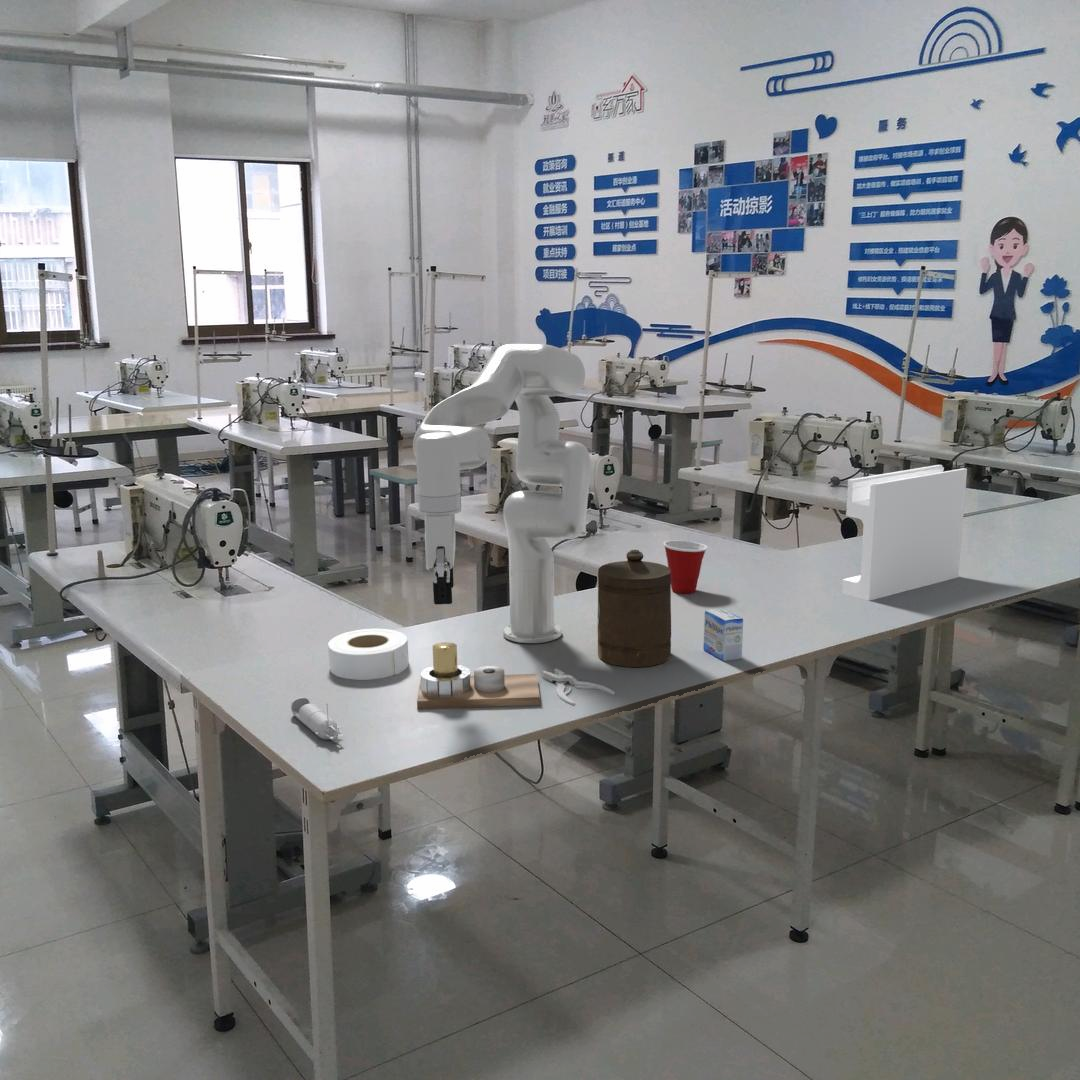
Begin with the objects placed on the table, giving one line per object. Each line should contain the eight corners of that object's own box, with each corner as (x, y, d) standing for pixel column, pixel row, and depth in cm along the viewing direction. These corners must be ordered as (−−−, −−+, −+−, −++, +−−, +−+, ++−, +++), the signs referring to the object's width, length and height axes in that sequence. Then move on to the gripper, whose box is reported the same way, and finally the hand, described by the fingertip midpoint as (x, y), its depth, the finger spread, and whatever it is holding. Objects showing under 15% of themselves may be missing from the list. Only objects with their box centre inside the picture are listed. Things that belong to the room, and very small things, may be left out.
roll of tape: (376, 686, 203) (374, 658, 201) (313, 672, 210) (311, 645, 209) (425, 661, 216) (423, 635, 215) (363, 649, 224) (362, 624, 222)
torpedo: (284, 716, 189) (282, 682, 187) (309, 710, 191) (307, 676, 190) (325, 751, 174) (323, 714, 173) (352, 744, 177) (350, 707, 175)
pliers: (571, 698, 191) (527, 674, 204) (571, 707, 192) (527, 682, 204) (615, 687, 196) (570, 664, 209) (615, 695, 197) (570, 672, 209)
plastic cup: (713, 595, 259) (715, 547, 256) (671, 598, 256) (672, 550, 254) (696, 583, 269) (697, 537, 266) (656, 586, 267) (657, 540, 264)
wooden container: (631, 639, 227) (632, 538, 222) (685, 655, 217) (687, 550, 212) (582, 655, 217) (582, 551, 212) (636, 673, 207) (637, 564, 202)
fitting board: (421, 684, 202) (420, 661, 201) (536, 681, 203) (536, 658, 202) (417, 708, 191) (416, 684, 190) (540, 705, 192) (539, 680, 191)
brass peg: (434, 683, 199) (432, 642, 197) (458, 682, 199) (456, 641, 197) (434, 692, 194) (432, 650, 193) (458, 691, 195) (456, 649, 193)
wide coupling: (422, 680, 201) (422, 664, 200) (470, 678, 201) (470, 663, 200) (420, 697, 192) (419, 682, 191) (470, 696, 192) (469, 680, 192)
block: (868, 600, 252) (875, 484, 246) (841, 593, 259) (847, 479, 253) (958, 577, 272) (967, 468, 265) (931, 570, 278) (939, 464, 272)
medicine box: (702, 650, 220) (703, 610, 218) (721, 647, 221) (722, 607, 219) (723, 662, 213) (724, 620, 211) (742, 658, 214) (744, 617, 212)
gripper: (421, 493, 197) (425, 582, 201) (415, 514, 180) (420, 611, 184) (461, 492, 197) (465, 581, 201) (460, 513, 180) (464, 609, 185)
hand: (444, 595), depth 193 cm, fingers open, 9 cm apart
